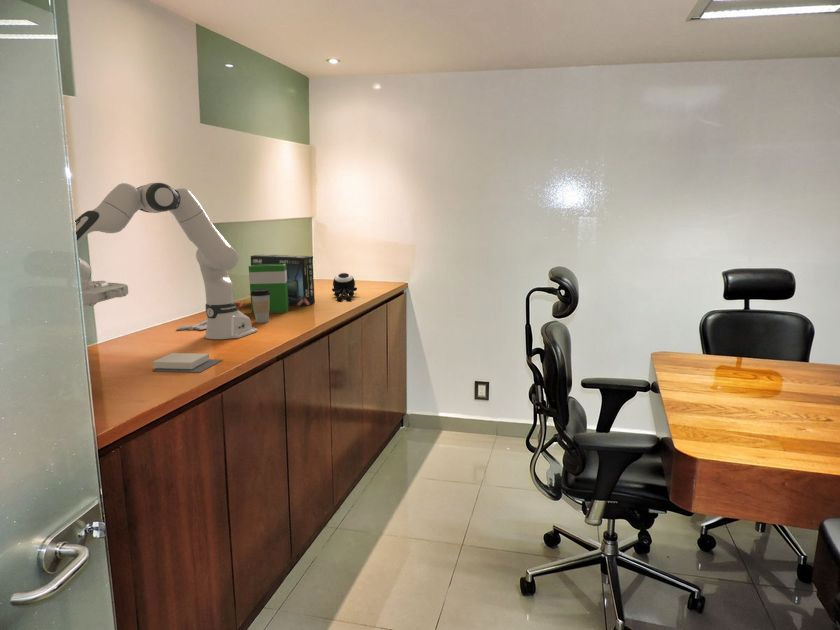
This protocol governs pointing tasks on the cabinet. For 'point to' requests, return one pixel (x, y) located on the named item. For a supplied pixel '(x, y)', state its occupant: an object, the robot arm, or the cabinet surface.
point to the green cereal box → (271, 284)
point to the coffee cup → (261, 304)
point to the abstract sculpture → (344, 286)
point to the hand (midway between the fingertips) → (123, 294)
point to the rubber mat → (194, 370)
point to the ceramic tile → (180, 361)
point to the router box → (293, 276)
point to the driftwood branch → (195, 326)
